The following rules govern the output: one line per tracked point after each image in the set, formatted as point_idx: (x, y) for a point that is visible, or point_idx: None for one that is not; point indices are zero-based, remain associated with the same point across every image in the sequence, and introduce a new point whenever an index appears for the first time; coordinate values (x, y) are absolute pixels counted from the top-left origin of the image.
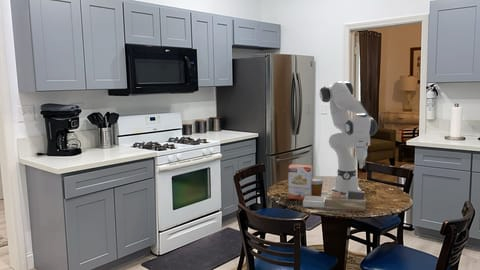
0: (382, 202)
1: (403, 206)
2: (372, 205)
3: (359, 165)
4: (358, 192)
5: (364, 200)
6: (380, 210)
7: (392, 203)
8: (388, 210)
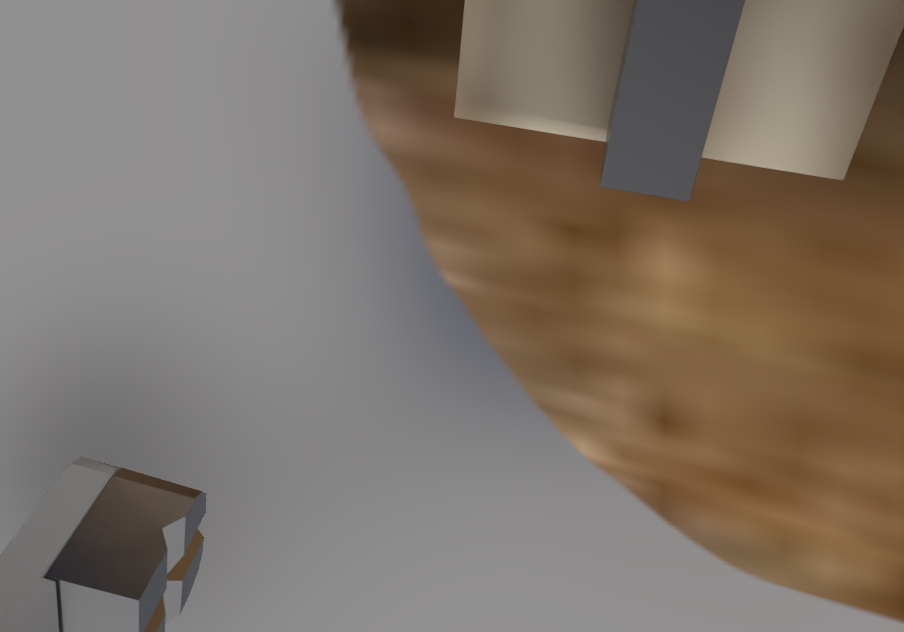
0: (899, 378)
1: (691, 527)
2: (757, 220)
3: (5, 551)
4: (624, 65)
5: (547, 119)
6: (516, 266)
7: (831, 468)
8: (525, 350)
